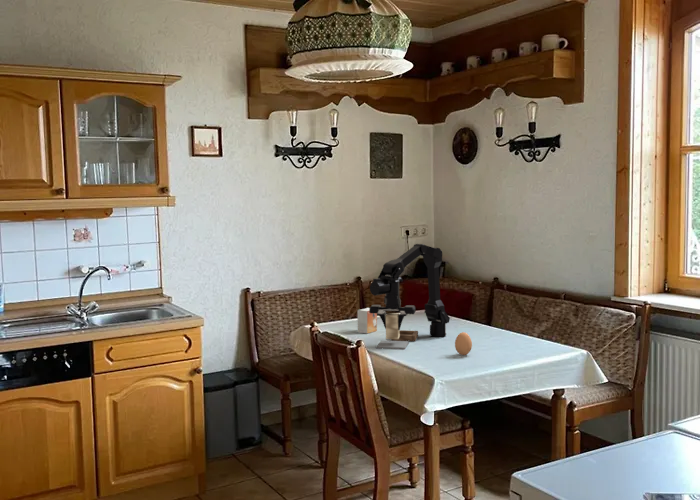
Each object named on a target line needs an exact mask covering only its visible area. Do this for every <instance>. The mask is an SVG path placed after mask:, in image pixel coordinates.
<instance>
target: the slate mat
mask: <svg viewBox="0 0 700 500" xmlns="http://www.w3.org/2000/svg"><path fill="white" fill-rule="evenodd" d="M409 344H410V341H391V340H383V339H382V340H380V341H379V342H378V343H377V345H376V346H375V348H376V349H379V350H381V349H382V348H383V350H406V348H408V345H409Z"/></svg>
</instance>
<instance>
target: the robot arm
mask: <svg viewBox="0 0 700 500" xmlns="http://www.w3.org/2000/svg"><path fill="white" fill-rule="evenodd" d="M420 256H421V257H422V260H423V263H424V265H425V266H426V268H427V283H428V301H427V303H424V314H425V316H426V319H427V321H428V322H429V323H430V324H429V335H430V338H431V337H432V338H433V337H434V338H436V337H437V338H445V337H447V326H446V325H447V324H448V323H450V320H451V317H450V316H449V315H448V314H447V312H446V309H445V308H446V307H445V305H444V303H443V301H442V300H441V287H440V285H441V284H440V282H441V281H440V266H441V264H442V263H443V250H442V249H441V248H439V247H432V246H429V245H426V244H424V243H415V244H413V246H412V247H410V248H409V249H408V250H406V252H404V253H403V254H402V255H400V256H399V257H397V258H395V259H392V260H389V261H387V262H385V263H384V264H383V267H382V269H381V271H380V273H379V275H378V277H377V278H373V280H372V282H371V283H370V285H369V292H370V293H371V294H372V295H373V296H381V295H384V299H383V303H384V305H385V306H382V305H381V304H372V305H371V306H370V307H369V308H370V309H369V313H377V316H379V318H380V319H381V321H382V323H383V326H384V328H385V330H386V314H387V312H391V313H395V312H397V313H399V324H398V330H401V326H402V323H403V321H404V318H405V317H407V316H408V315H414V314H415V313H416V306H415V305H412V304H411V305H410V304H409V305H405V306H403V307H402V306H401V305H402V303H401V302H402V300H401V298H400V282H403V281H404V279H403V278H402V277H401V275H402V274H403V273H404V272H405V268H406V267H407V266H408V265H410V264H411V263H412V262H413V261H415V260H416V259H418V258H419V257H420Z"/></svg>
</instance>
